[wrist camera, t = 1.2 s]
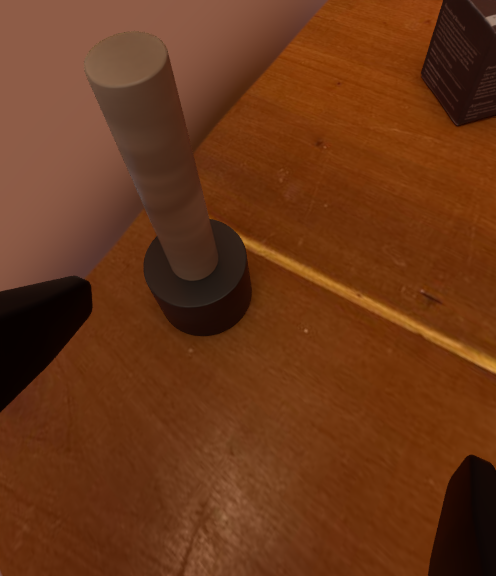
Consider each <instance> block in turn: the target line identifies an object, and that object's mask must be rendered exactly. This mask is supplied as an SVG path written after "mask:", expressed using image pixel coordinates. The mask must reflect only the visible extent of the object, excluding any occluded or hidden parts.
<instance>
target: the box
mask: <svg viewBox="0 0 496 576" xmlns="http://www.w3.org/2000/svg"><path fill="white" fill-rule="evenodd" d="M421 74H422V78H423V79H424V81H425V82H426V84H427V85H428V86H429V88H430V89H431V90H432V91H433V93H434V94H435V95H436V97H437V98H438V100H439V101H440V103H441V104H442V105H443V107H444V109H445V110H446V112H447V113H448V114H449V116H450V118H451V119H452V121H453V122H454V123H455V124H456V125H461V124H464V123H467V122H471V121H475V120H478V119H482V118H485V117H489V116H492V115H496V0H443V3H442V6H441V9H440V12H439V16H438V19H437V23H436V26H435V29H434V32H433V35H432V39H431V42H430V46H429V49H428V52H427V55H426V59H425V62H424V65H423V68H422V71H421Z"/></svg>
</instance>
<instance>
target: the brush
mask: <svg viewBox="0 0 496 576" xmlns="http://www.w3.org/2000/svg"><path fill="white" fill-rule="evenodd" d="M84 71H85V74H86V76H87V79H88V81H89V83H90V85H91V88H92V90H93V92H94V94H95V97H96V99H97V101H98V103H99V106H100V108H101V110H102V112H103V114H104V117H105V119H106V122H107V124H108V126H109V128H110V131H111V133H112V135H113V137H114V139H115V142H116V144H117V146H118V148H119V151H120V153H121V155H122V157H123V160H124V162H125V164H126V167H127V169H128V171H129V173H130V176H131V177H132V180H133V182H134V185H135V187H136V189H137V191H138V194H139V196H140V198H141V201H142V203H143V205H144V207H145V210H146V212H147V214H148V216H149V219H150V221H151V223H152V225H153V228H154V230H155V232H156V234H157V237H156V238H155V239H154V240H153V241H152V243H151V244H150V246H149V248H148V250H147V252H146V255H145V258H144V276H145V279H146V282H147V284H148V286H149V288H150V290H151V292H152V293H153V295H154V297H155V299H156V300H157V302H158V304H159V306H160V307H161V309H162V311H163V312H164V314H165V316H166V318H167V319H168V320H169V322H170V323H171V324H172V325H173V326H175V327H176V328H177V329H179V330H181V331H183V332H185V333H187V334H191V335H197V336H208V335H214V334H218V333H221V332H223V331H225V330H227V329H229V328H231V327H232V326H234V325H235V324H236V323H237V322H238V321H239V320H240V319H241V318H242V317H243V315H244V314H245V312H246V311H247V309H248V307H249V304H250V301H251V282H250V275H249V268H248V262H247V255H246V249H245V246H244V244H243V241H242V240H241V238H240V237H239V235H238V234H237V233H236V232H235V231H234V230H233V229H232V228H230V227H229V226H227V225H226V224H224V223H222V222H219V221H216V220H213V219H209V216H208V212H207V208H206V204H205V200H204V196H203V191H202V187H201V183H200V179H199V175H198V171H197V167H196V163H195V159H194V155H193V151H192V148H191V144H190V139H189V135H188V131H187V127H186V124H185V119H184V115H183V111H182V107H181V103H180V99H179V95H178V91H177V87H176V83H175V79H174V75H173V71H172V67H171V63H170V59H169V55H168V51H167V48H166V46H165V45H164V43H163V42H162V41H161V40H160V39H159V38H157V37H156V36H154V35H151V34H149V33H145V32H124V33H119V34H116V35H113V36H110V37H108V38H106V39H104V40H102V41H100V42H99V43H98V44H97V45H95V46H94V47H93V48H92V49H91V50H90V51H89V53H88V54H87V56H86V58H85V61H84Z"/></svg>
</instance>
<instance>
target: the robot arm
mask: <svg viewBox="0 0 496 576" xmlns="http://www.w3.org/2000/svg"><path fill="white" fill-rule="evenodd" d="M91 312H92V292H91V285H90V283H89V282H88V281H87V280H85V279H82V278H80V277H78V276H69V277H65V278H61V279H56V280H51V281H46V282H42V283H37V284H33V285H28V286H24V287H19V288H15V289H10V290H5V291H1V292H0V412H1V411H2V410H3V409H4V408H5V407H6V406H7V405H8V404H9V403H10V402H11V401H12V400H14V399H15V398H16V397H17V396H18V395H19V394H20V393H21V392H22V391H23V390H24V389H25V388H26V387H27V386H28V385H29V384H30V383H31V382H32V381H33V380H34V379H35V378H36V377H37V376H38V375H39V374H40V373H41V372H42V371H43V370H44V369H45V368H46V367H47V366H48V365H49V364H50V363H51V362H52V361H53V359H54V358H55V357H56V356H57V355H58V354H59V352H60V351H61V350H62V349H63V348H64V346H65V345H66V344H67V343H68V342H69V340H70V339H71V338H72V337H73V336H74V334H75V333H76V332H77V331H78V329H79V328H80V327H81V326H82V325H83V323H84V322H85V321H86V320H87V319H88V317H89V316H90V314H91ZM428 576H496V470H495V468H494V466H493V465H492V464H491V463H490V462H488V461H486V460H483V459H481V458H479V457H477V456H475V455H468V456H467V457H466V458H465V459H464V461H463V462H462V463H461V465H460V466H459V467H458V469H457V470H456V471H455V473H454V474H453V475H452V477H451V479H450V481H449V483H448V486H447V490H446V494H445V498H444V502H443V507H442V511H441V515H440V519H439V524H438V528H437V532H436V536H435V541H434V545H433V549H432V554H431V558H430V565H429V572H428Z"/></svg>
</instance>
